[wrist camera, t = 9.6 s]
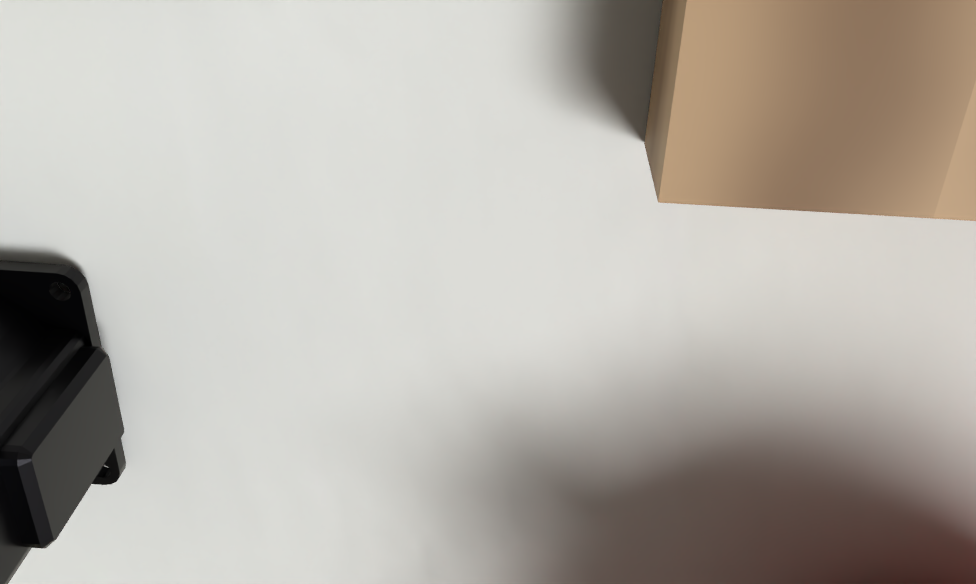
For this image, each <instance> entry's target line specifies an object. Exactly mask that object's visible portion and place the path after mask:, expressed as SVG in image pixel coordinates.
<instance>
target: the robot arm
mask: <svg viewBox="0 0 976 584" xmlns="http://www.w3.org/2000/svg"><path fill="white" fill-rule="evenodd" d="M57 282H59V283H63V284H64V285H66V286H67V287H68V288H69V290H70V292H71V293H69V292H66V291H63V290H62V289H61V288H60V287H59V285H58V284H57ZM123 433H124V427H123V422H122V417H121V412H120V407H119V403H118V398H117V393H116V388H115V383H114V379H113V374H112V369H111V364H110V359H109V356H108V354H107V353H106V352H105V350H104V349H103V348H102V347H101V343H100V338H99V333H98V328H97V324H96V319H95V314H94V310H93V305H92V300H91V295H90V291H89V286H88V283H87V281H86V278H85V277H84V276H83V275H82V274H81V272H80V271H78V270H76V269H75V268H73V267H70V266H66V265H56V264H40V263H24V262H8V261H0V584H8V583H9V581H10V580H11V578H12V577H13V575H14V574H15V572H16V571H17V569H18V568H19V566H20V565H21V563H22V562H23V560H24V559H25V557H26V555H27V554H28V552H29V551H30V549H31V548H47V547H48V546H49V545H50V544H51V543H52V542H53V541H55V540H56V539H57V537H58V536H59V534H60V532H61V531H62V529H63V528H64V526H65V525H66V523H67V521H68V520H69V518H70V517H71V515H72V514H73V512H74V510H75V509H76V507H77V506H78V504H79V503H80V501H81V499H82V498H83V496H84V495H85V493H86V492H87V490H88V488H89V487H90V485H91V484H102V485H107V484H112V483H114V482H116V481H117V480H118V478H119V477H120V475H121V474H122V472H123V470H124V469H125V466H126V461H125V456H124V451H123V447H122V442H121V437H122V435H123ZM104 464H105V465H106V466H108V467H109V468H108V467H104V466H103V465H104Z"/></svg>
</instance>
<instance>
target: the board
mask: <svg viewBox="0 0 976 584" xmlns="http://www.w3.org/2000/svg"><path fill="white" fill-rule="evenodd" d="M644 144H645V148H646V152H647V157H648V161H649V165H650V169H651V174H652V178H653V182H654V186H655V191H656V195H657V199H658V202H660V203H677V204H694V205H712V206H729V207H746V208H763V209H781V210H798V211H815V212H832V213H849V214H867V215H884V216H901V217H918V218H935V219H953V220H970V221H976V0H663V3H662V11H661V18H660V26H659V34H658V42H657V49H656V57H655V65H654V73H653V81H652V88H651V96H650V104H649V112H648V119H647V127H646V135H645V143H644Z"/></svg>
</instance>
